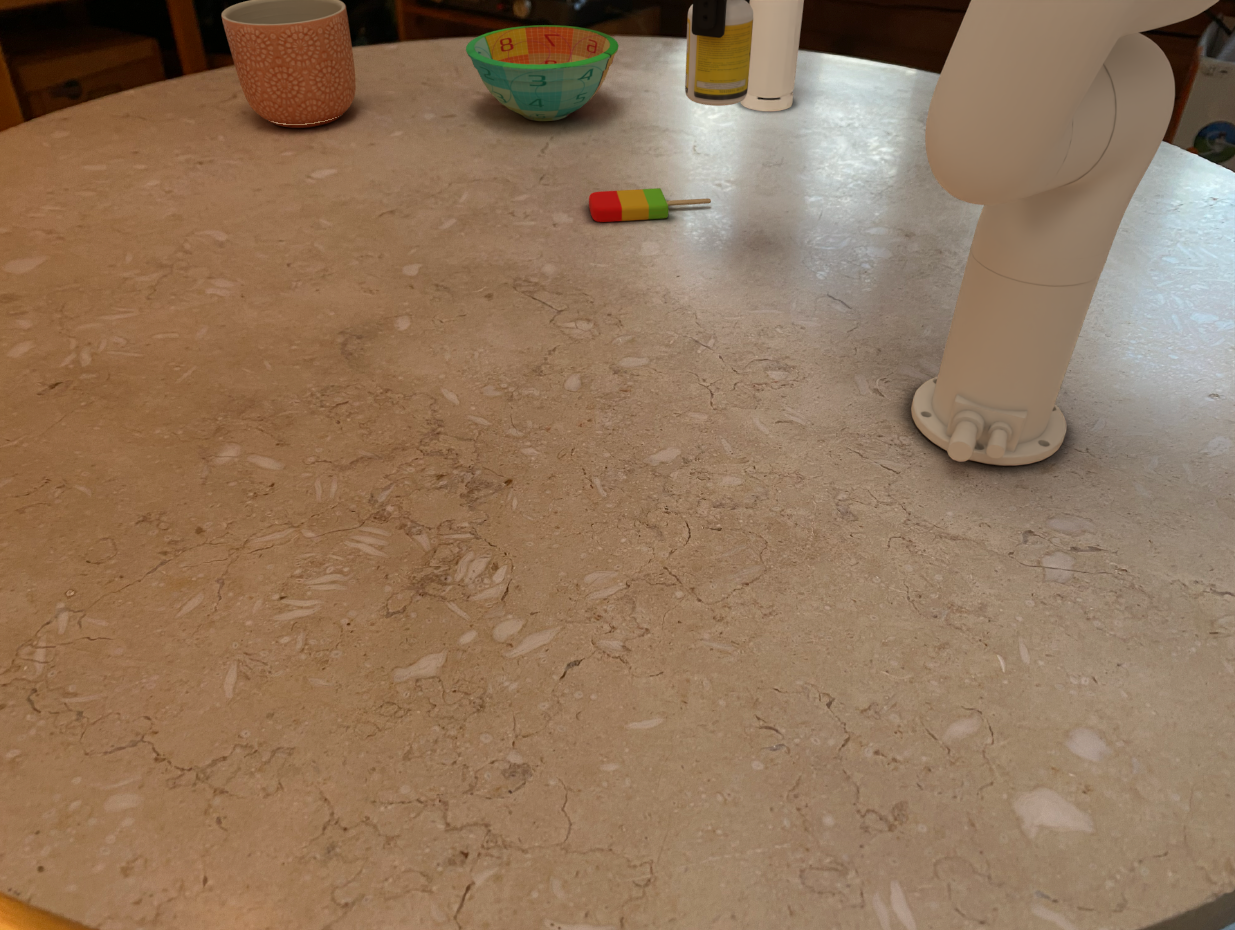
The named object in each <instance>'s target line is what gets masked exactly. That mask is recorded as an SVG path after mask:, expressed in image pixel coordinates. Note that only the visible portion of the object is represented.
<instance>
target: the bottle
mask: <svg viewBox="0 0 1235 930" xmlns="http://www.w3.org/2000/svg"><path fill="white" fill-rule="evenodd" d="M804 1H805V0H750V6H751V7H752V9H753V28H752V42H751V54H750V67H749V78H748V90H747V95H746V97H745V98H744V99H743V100H742V101H741V102H740V105H741V106H742V107H744V108H747V109H749V110H753V111H758V112H779V111H785V110H787V109H790V108H791V107H792V105H793V101H794V92H793V91H794V89H795V84H796V83H795V82H796V74H797V66H798V65H797V64H798V57H799V49H800V47H799V46H800V40H801V39H800V38H801V29H802V21H803V13H804V12H803V11H804V4H805V3H804ZM761 98H763V99H761Z"/></svg>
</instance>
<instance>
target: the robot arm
mask: <svg viewBox="0 0 1235 930" xmlns="http://www.w3.org/2000/svg"><path fill="white" fill-rule="evenodd" d="M745 1H746V2H748V3H749V4H750V0H745ZM1219 1H1220V0H970V1H969V4H968V7H967V9H966V12H965V14H964V16H963V19H962V21H961V24H960V26H959V28H958V31H957V33H956V36H955V38H954V40H953V43H952V45H951V47H950V50H949V53H948V55H947V57H946V60H945V63H944V65H943V66H942V70H941V72H940V74H939V76H938V79H937V81H936V84H935V88H934V90H933V94H932V95H931V96H932V97H931V99H930V103H929V105H928V106H929V107H928V111H927V117H926V121H925V130H924V132H925V135H924V136H925V137H924V139H925V140H924V142H925V150H926V151H925V153H926V157H927V161H928V165H929V168H930V170H931V172H932V175H933V176H934V178H935V180H936V182H937V183H938V184H939V185H940V186H941V188H942V189H943V190H945V191H946V192H947V193H948V194H949V195H950V196H952V197H954V198H956V199H957V200H959V201H962V202H965V203H968V204H972V205H978V206H982V209H981V212H980V215H979V217H978V220H977V224H976V227H975V229H974V233H973V234H974V235H973V237H972V242H971V244H970V248H969V251H968V255H967V260H966V264H965V267H964V271H963V272H964V273H963V274H962V275H963V276H962V279H961V280H962V281H961V283H960V287H959V292H958V295H957V299H956V303H955V308H954V311H953V316H952V320H951V322H950V327H949V330H948V335H947V339H946V343H945V347H944V349H943V350H944V351H943V355H942V358H941V363H940V366H939V370H938V374H937V376H934V377H931V378H930V379H928V380H926V381H925V382H923V383H922V384H921V385H920V386H919V387H918V388H917V389H916V390H915V392H914V395H913V397H912V403H911V406H910V407H911V408H910V412H911V417H912V420H913V422H914V425H915V426H916V427H917V429H918V430H919V431H920V432H921V433H922V435H924V436H925V437H926V438H927V439H928V440H930V441H931V442H932V443H933V444H935V445H936V446H938V447H940V448H941V449H943V450H945V451H946V452H947V455H948V457H950V459H952V460H953V461H956V462H959V463H960V462H966V461H972V462H977V463H982V464H986V465H993V466H994V465H995V466H1023V465H1030V464H1034V463H1037V462H1040V461H1044V460H1045V459H1048V458H1049V457H1051V456H1053V455H1054V454H1055V453H1056V452H1057V451H1058V450H1060V447H1061V446H1062V444H1063V442H1064V439H1065V437H1066V433H1067V420H1066V418H1065V416H1064V414H1063V412H1062V411H1061V409H1060V408H1059V406H1058V405H1057V404H1056V401H1057V399H1058V397H1059V393H1060V391H1061V388H1062V385H1063V382H1064V379H1065V376H1066V375H1067V370H1068V367H1069V365H1070V363H1071V359H1072V357H1073V354H1074V351H1075V348H1076V345H1077V342H1078V340H1079V336H1080V334H1081V331H1082V328H1083V325H1084V323H1085V319H1086V318H1087V314H1088V311H1089V309H1090V306H1091V303H1092V300H1093V296H1094V294H1095V292H1096V289H1097V285H1098V283H1099V280H1100V277H1101V275H1102V273H1103V271H1104V268H1105V266H1106V263H1107V259H1108V257H1109V255H1110V252H1111V249H1112V246H1113V243H1114V241H1115V238H1116V236H1117V233H1118V230H1119V227H1120V225H1121V223H1122V220H1123V218H1124V215H1125V213H1126V211H1127V209H1128V207H1129V205H1130V202H1131V201H1132V198H1133V197H1134V194H1135V193H1136V191H1137V189H1138V187H1139V185H1140V183H1141V181H1142V180H1143V178H1144V176H1145V174H1146V172H1147V170H1148V169H1149V167H1150V165H1151V163H1152V161H1153V159H1154V158H1155V156H1156V154H1157V152H1158V150H1159V148H1160V146H1161V144H1162V142H1163V140H1164V137H1165V135H1166V133H1167V130H1168V127H1169V125H1170V122H1171V119H1172V115H1173V111H1174V106H1175V98H1176V81H1175V76H1174V72H1173V69H1172V66H1171V63H1170V61H1169V59H1168V57H1167V55H1166V54H1165V52H1164V51H1163V50H1162V48H1160V46H1159V45H1158V44H1157V43H1156V42H1154V41H1153V40H1152V39H1151V38H1149V37H1147V36H1146V35H1144V34H1142V32H1147V31H1152V30H1155V29H1159V28H1163V27H1167V26H1170V25H1173V24H1177V23H1180V22H1183V21H1186V20H1189V19H1191V18H1193V17H1196V16H1198V15H1200V14H1201V13H1203V12H1204V11H1207V10H1208V9H1210V7H1212V6H1214V5H1216V3H1218V2H1219ZM692 4H693V9H692V33H693V34H694V35H699V36H707V37H716V38H721V37H722V36H723V35H724V33H725V20H726V5H727V0H692Z"/></svg>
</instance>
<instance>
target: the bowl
mask: <svg viewBox="0 0 1235 930" xmlns="http://www.w3.org/2000/svg"><path fill="white" fill-rule="evenodd" d="M619 46H620V45H619V43H618V41H617V40H616V39H615V38H614V37H612V36H611V35H609V34H607V33H604V32H601V31H598V30H594V29H590V28H586V27H579V26H569V25H557V24H554V25H553V24H549V25H548V24H544V25H543V24H542V25H541V24H540V25H539V24H538V25H523V26H514V27H508V28H507V27H506V28H502V29H497V30H493V31H490V32H486V33H484V34H481V35H479V36H477V37H475V38H473V39H472V40H470V41H469V42H468V43H467V44H466V46H465V51H466V54H467V56H468V57H469V58H470V60H471V62H472V66H473V68H474V69H476V71H477V73H478V74H479V77H480V79H481V81H482V84H483V85H484V86H485V88H486V89H487V90H488V92H489V93H490V94H491V95H492V96H493V97H494V99H496V101H498V102H499V103H500V104H501V105H502V106H504V107H505V108H507V109H508V110H510V111H512V112H514V113H517V114H518V115H521V116H522V117H523V118H525V119H527V120H531V121H536V122H554V121H558V120H563V119H565V118H567V117H568V116H569V115H570V114H572V113H574V112H576V111H577V110H579V109H581V108H582V107H584V106H585V105H586V104H587V103H589V101H591V100H592V99H593V97H594V96H595V95H596V94H597V93H598V91H599V90H600V89H601V87H602V85H603V83H604V82H605V80H606V77H607V75H608V72H609V70H610V67H611V66H612V65H613V62H614V59H615V55H616V53H617V52H618V50H619Z"/></svg>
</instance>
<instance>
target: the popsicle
mask: <svg viewBox="0 0 1235 930" xmlns="http://www.w3.org/2000/svg"><path fill="white" fill-rule="evenodd" d="M711 203H712V199H711V198H707V197H706V198H689V199H672V200H667V199H666V197H665V195H664V192H663V190H662V188H660V187H657V188H638V189H621V190H603V191H602V190H601V191H600V190H599V191H593V192H592V193H590V194H589V196H588V208H589V212H590V216H591V217H592V220H594V221H595V222H597V223H611V222H626V221H627V222H628V221H645V220H647V221H648V220H660V219H661V220H662V219H667V218H668V217H669V207H673V206H688V205H706V204H707V205H708V204H711Z"/></svg>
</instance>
